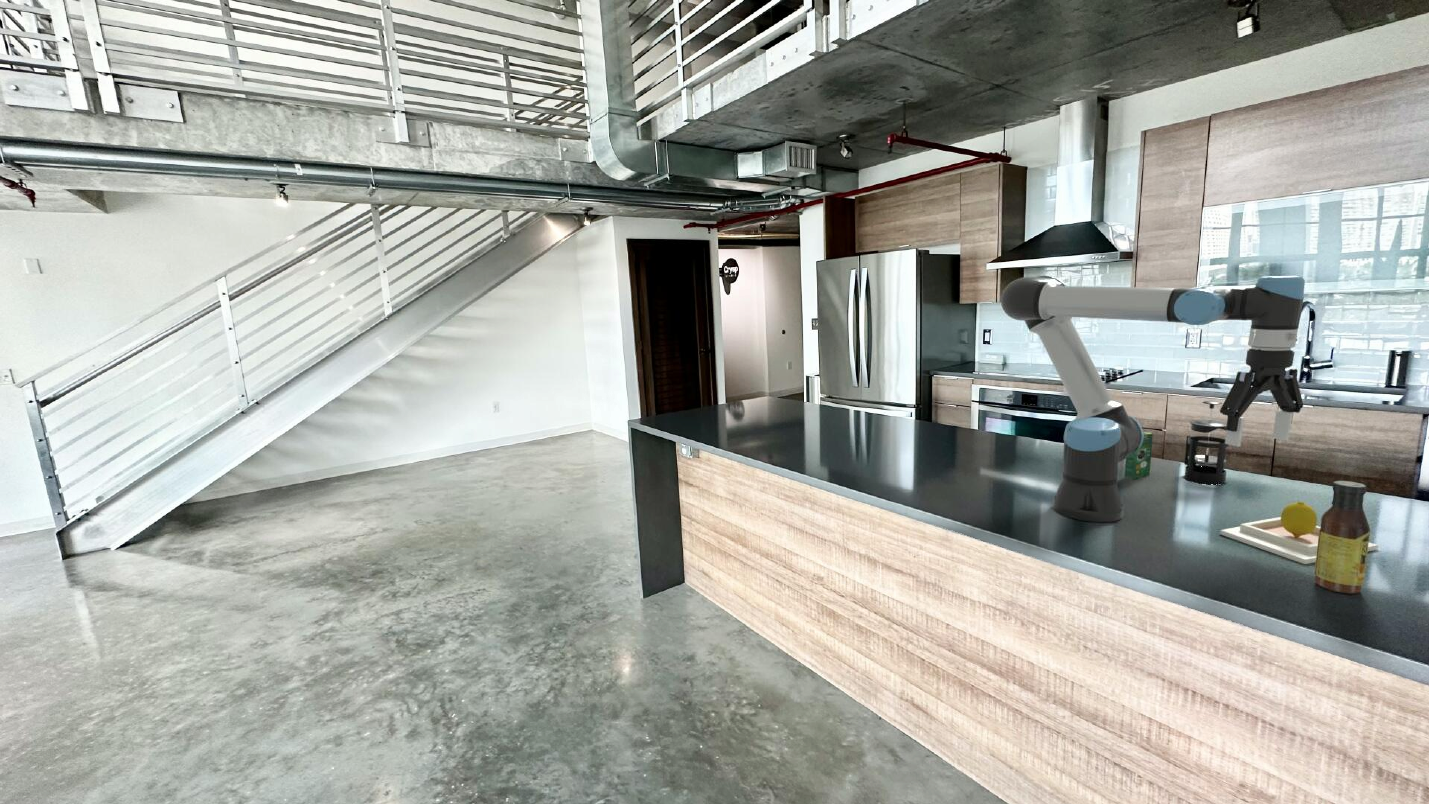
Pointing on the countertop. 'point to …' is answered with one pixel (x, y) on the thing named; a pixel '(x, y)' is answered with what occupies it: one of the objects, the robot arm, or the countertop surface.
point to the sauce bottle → (1343, 540)
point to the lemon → (1298, 519)
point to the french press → (1205, 472)
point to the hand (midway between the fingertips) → (1256, 442)
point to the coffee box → (1140, 459)
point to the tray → (1279, 539)
